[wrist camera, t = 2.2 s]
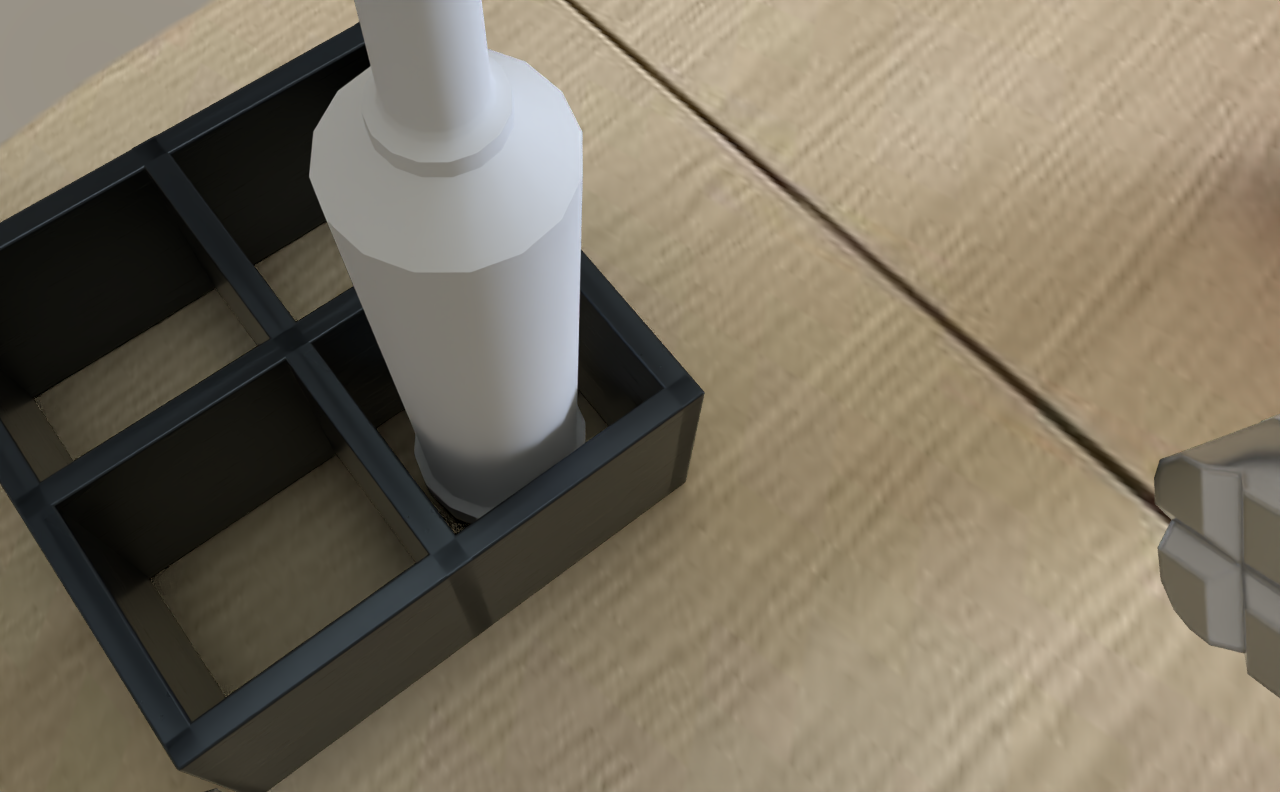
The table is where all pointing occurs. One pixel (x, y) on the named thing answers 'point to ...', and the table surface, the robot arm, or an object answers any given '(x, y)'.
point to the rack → (279, 430)
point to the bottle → (461, 243)
